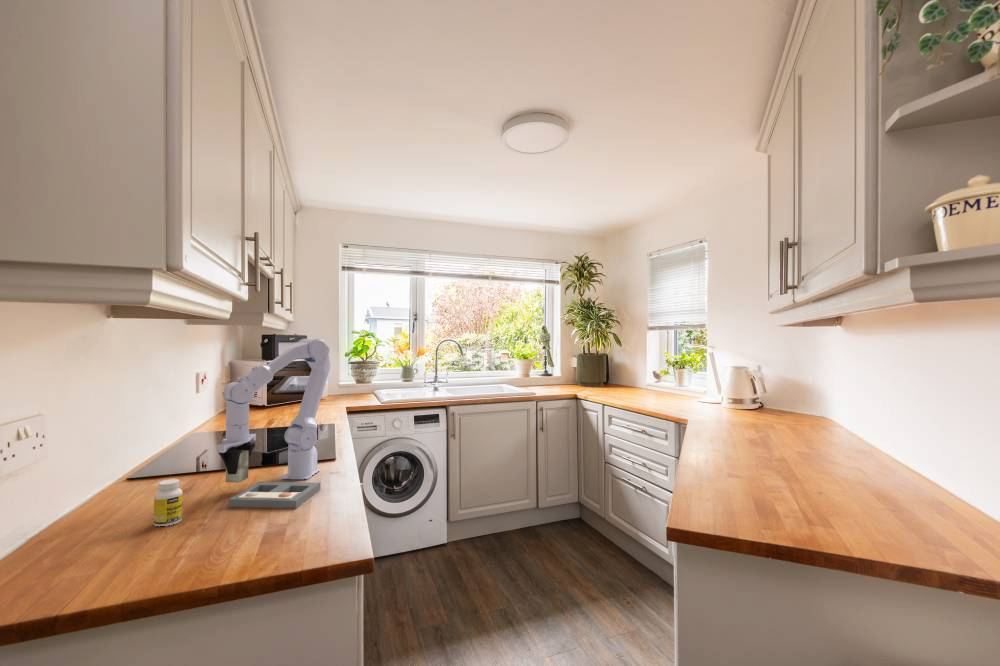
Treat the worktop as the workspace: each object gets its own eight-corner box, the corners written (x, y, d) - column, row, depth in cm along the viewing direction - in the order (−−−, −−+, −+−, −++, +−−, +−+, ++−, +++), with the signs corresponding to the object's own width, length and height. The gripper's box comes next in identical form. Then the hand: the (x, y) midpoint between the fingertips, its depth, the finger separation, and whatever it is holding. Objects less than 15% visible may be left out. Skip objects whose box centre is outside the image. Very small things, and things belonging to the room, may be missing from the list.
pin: (234, 477, 127) (235, 450, 127) (248, 477, 127) (248, 450, 127) (225, 482, 123) (225, 453, 123) (239, 482, 123) (239, 454, 123)
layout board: (260, 488, 128) (260, 479, 128) (320, 489, 127) (320, 481, 127) (228, 507, 114) (228, 497, 114) (296, 508, 113) (296, 498, 113)
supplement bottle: (166, 528, 101) (167, 486, 101) (147, 526, 102) (148, 484, 102) (187, 519, 106) (188, 478, 106) (169, 517, 107) (170, 477, 107)
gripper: (240, 419, 133) (239, 463, 133) (206, 429, 118) (205, 479, 118) (262, 419, 132) (262, 464, 132) (231, 429, 118) (231, 479, 118)
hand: (237, 471), depth 125 cm, fingers closed on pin, 4 cm apart
